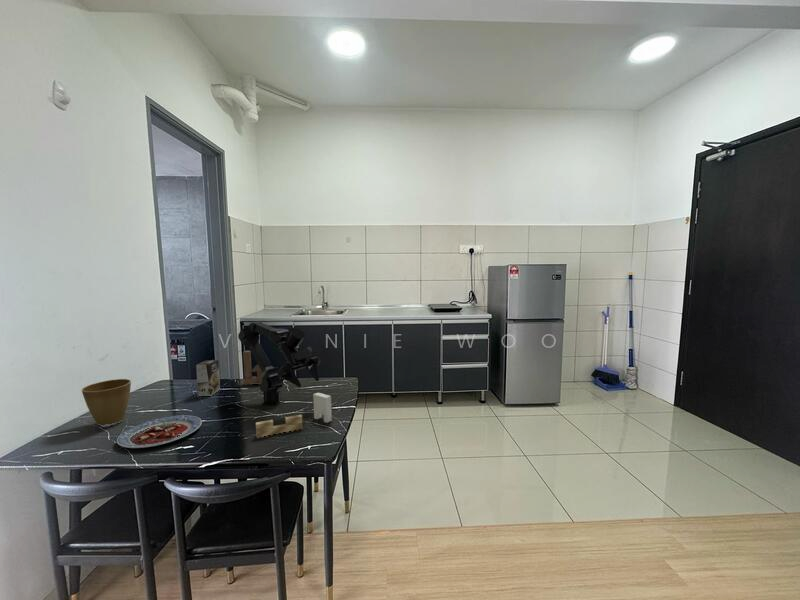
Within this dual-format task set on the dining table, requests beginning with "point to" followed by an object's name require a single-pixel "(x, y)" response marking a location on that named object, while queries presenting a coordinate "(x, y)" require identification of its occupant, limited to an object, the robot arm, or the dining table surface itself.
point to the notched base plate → (278, 426)
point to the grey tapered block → (322, 406)
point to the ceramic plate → (159, 431)
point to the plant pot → (107, 400)
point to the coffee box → (208, 377)
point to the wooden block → (251, 370)
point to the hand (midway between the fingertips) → (309, 383)
